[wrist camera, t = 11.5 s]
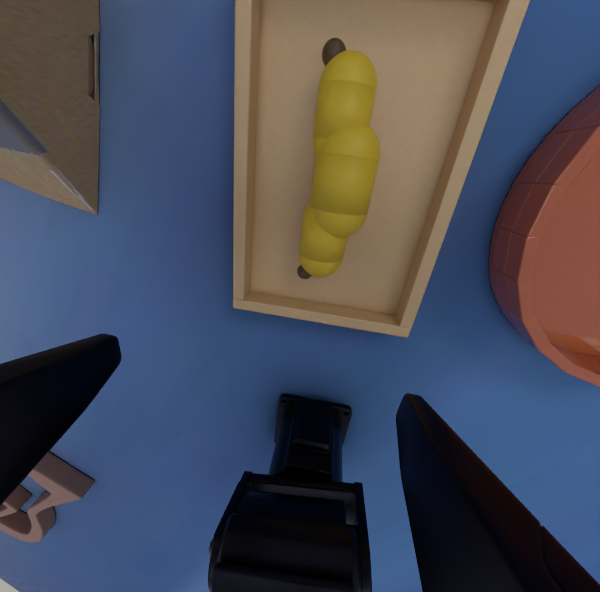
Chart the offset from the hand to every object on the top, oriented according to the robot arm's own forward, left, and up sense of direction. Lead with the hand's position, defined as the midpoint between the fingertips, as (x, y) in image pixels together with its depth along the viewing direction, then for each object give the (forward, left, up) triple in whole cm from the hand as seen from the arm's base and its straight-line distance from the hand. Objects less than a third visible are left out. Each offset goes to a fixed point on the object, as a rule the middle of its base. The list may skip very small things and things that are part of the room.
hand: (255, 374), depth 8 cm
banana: (+5, -2, -11) cm, 12 cm away
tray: (+5, -2, -12) cm, 13 cm away
